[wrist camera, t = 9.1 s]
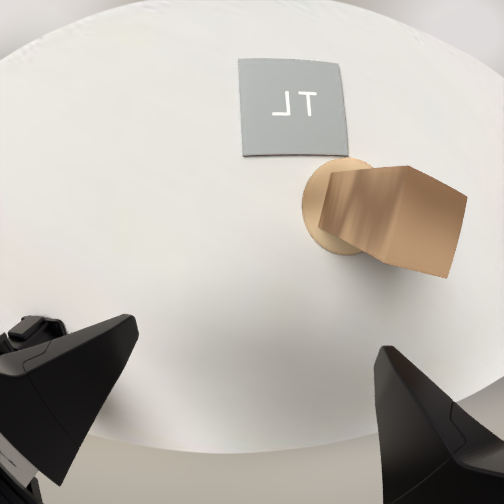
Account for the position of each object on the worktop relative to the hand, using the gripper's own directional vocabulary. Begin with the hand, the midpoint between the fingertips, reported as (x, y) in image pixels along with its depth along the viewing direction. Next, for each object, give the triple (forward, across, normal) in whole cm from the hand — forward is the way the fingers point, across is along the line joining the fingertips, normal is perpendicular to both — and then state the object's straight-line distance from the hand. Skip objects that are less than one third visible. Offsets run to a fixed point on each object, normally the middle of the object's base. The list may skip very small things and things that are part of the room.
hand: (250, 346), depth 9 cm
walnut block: (+14, -5, -3) cm, 15 cm away
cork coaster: (+14, -5, -2) cm, 15 cm away
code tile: (+14, 0, -10) cm, 17 cm away
